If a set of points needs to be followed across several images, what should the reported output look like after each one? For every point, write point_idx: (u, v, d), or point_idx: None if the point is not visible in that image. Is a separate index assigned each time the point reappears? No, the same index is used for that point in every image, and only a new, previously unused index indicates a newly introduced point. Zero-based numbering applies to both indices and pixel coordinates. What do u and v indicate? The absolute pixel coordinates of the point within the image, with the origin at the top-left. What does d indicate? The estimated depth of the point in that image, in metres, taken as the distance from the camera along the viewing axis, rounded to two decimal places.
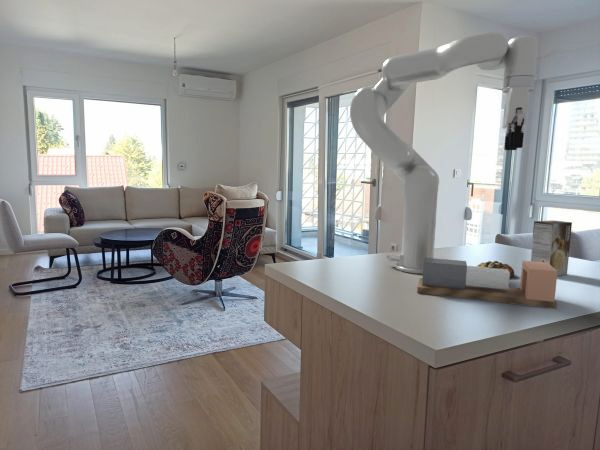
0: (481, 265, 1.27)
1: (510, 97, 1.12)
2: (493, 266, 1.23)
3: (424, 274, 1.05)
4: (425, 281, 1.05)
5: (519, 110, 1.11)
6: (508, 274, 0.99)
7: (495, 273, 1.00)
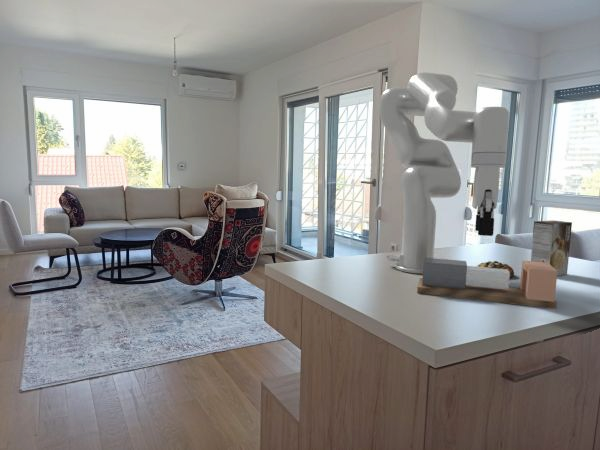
0: (481, 265, 1.27)
1: (478, 177, 0.97)
2: (493, 266, 1.23)
3: (424, 274, 1.05)
4: (425, 281, 1.05)
5: (488, 193, 0.95)
6: (508, 274, 0.99)
7: (495, 273, 1.00)
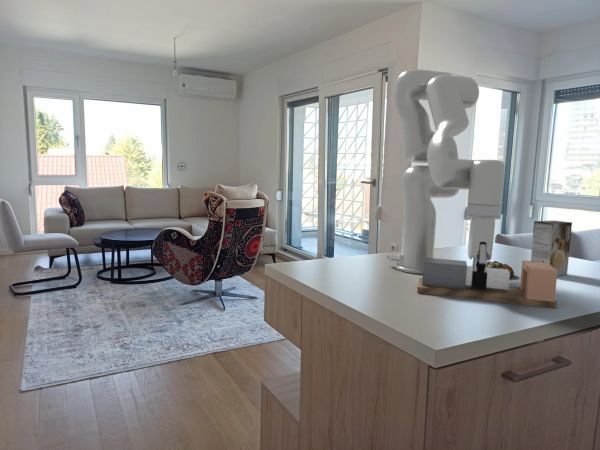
0: None
1: (473, 229, 0.98)
2: (493, 266, 1.23)
3: (424, 274, 1.05)
4: (425, 281, 1.05)
5: (482, 250, 0.97)
6: (508, 274, 0.99)
7: (495, 273, 1.00)
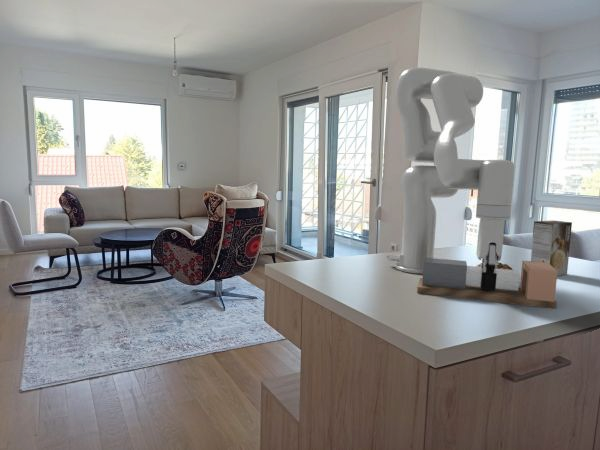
0: (480, 265, 1.26)
1: (483, 229, 0.98)
2: None
3: (424, 274, 1.05)
4: (425, 281, 1.05)
5: (492, 251, 0.97)
6: (518, 275, 0.99)
7: (505, 274, 1.00)
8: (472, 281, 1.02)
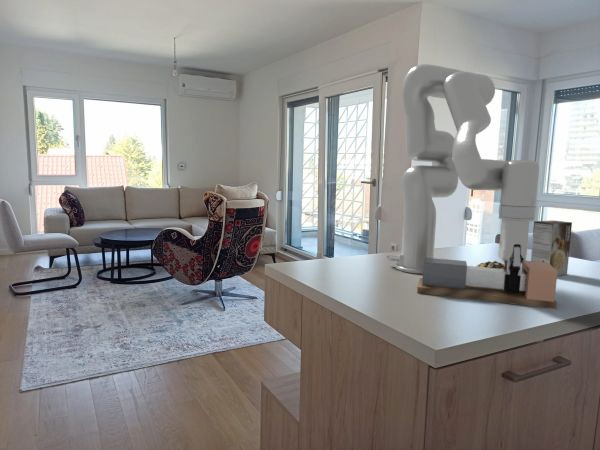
0: (480, 265, 1.26)
1: (507, 231, 0.96)
2: (492, 266, 1.23)
3: (424, 274, 1.05)
4: (425, 281, 1.05)
5: (516, 253, 0.95)
6: None
7: None
8: (495, 284, 1.00)
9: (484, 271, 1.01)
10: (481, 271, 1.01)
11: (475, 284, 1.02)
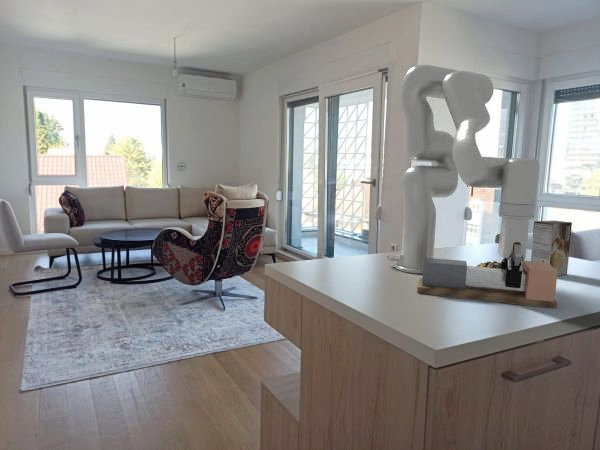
0: (480, 265, 1.26)
1: (507, 229, 0.96)
2: (492, 266, 1.23)
3: (424, 274, 1.05)
4: (425, 281, 1.05)
5: (517, 246, 0.94)
6: None
7: None
8: (495, 284, 1.00)
9: (484, 271, 1.01)
10: (481, 272, 1.01)
11: (475, 284, 1.02)
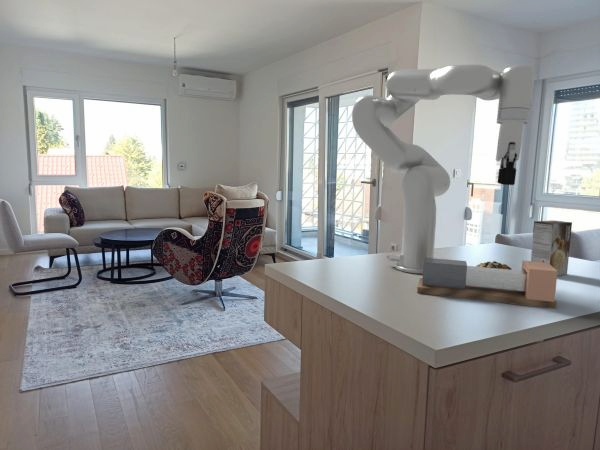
0: (480, 265, 1.26)
1: (503, 130, 1.05)
2: (492, 266, 1.23)
3: (424, 274, 1.05)
4: (425, 281, 1.05)
5: (512, 145, 1.04)
6: None
7: None
8: (495, 284, 1.00)
9: (484, 271, 1.01)
10: (481, 272, 1.01)
11: (475, 284, 1.02)
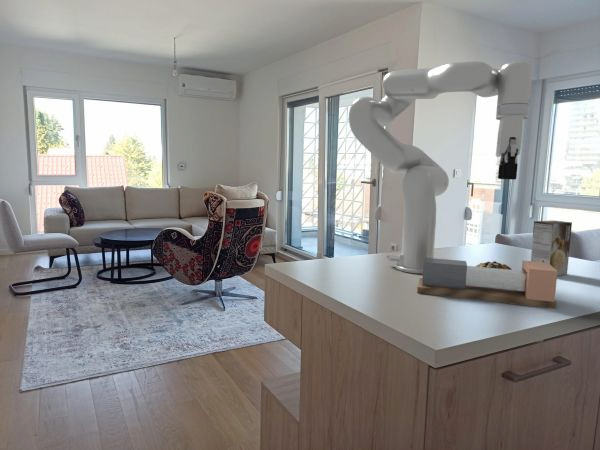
0: (480, 265, 1.26)
1: (503, 126, 1.07)
2: (492, 266, 1.23)
3: (424, 274, 1.05)
4: (425, 281, 1.05)
5: (513, 140, 1.05)
6: None
7: None
8: (495, 284, 1.00)
9: (484, 271, 1.01)
10: (481, 272, 1.01)
11: (475, 284, 1.02)
